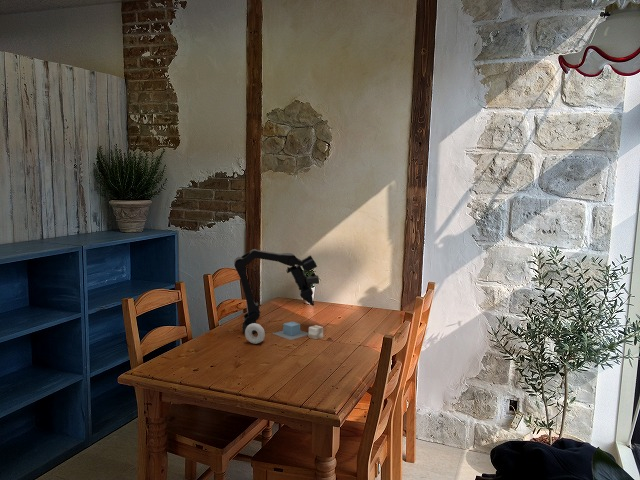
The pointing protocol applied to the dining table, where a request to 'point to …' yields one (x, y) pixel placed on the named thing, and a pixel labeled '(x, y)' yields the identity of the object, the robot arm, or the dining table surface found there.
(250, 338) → the donut
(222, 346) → the dining table surface
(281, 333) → the base mat
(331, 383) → the dining table surface
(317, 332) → the top brick
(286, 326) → the bottom brick
